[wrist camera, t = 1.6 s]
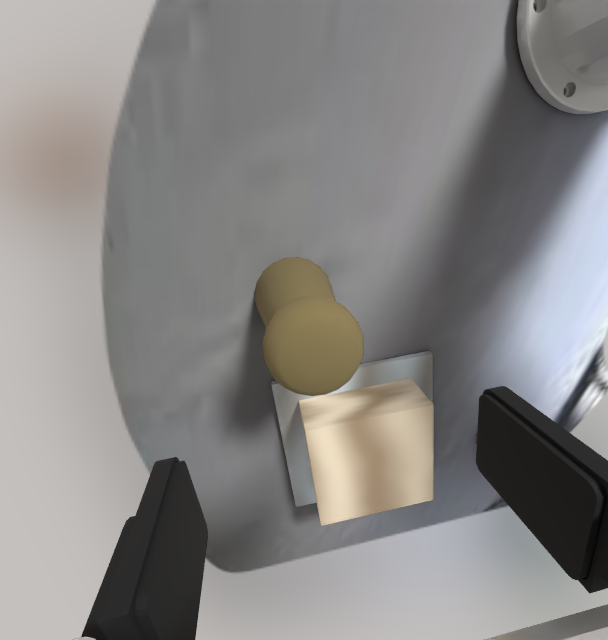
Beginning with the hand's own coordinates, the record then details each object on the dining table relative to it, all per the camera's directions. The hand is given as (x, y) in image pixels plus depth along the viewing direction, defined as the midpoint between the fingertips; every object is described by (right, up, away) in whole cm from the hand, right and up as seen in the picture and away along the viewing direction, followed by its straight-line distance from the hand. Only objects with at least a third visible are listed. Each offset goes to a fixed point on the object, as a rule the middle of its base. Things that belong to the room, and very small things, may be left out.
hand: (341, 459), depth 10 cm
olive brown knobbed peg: (-2, +6, +16) cm, 17 cm away
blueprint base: (+4, -6, +21) cm, 22 cm away
